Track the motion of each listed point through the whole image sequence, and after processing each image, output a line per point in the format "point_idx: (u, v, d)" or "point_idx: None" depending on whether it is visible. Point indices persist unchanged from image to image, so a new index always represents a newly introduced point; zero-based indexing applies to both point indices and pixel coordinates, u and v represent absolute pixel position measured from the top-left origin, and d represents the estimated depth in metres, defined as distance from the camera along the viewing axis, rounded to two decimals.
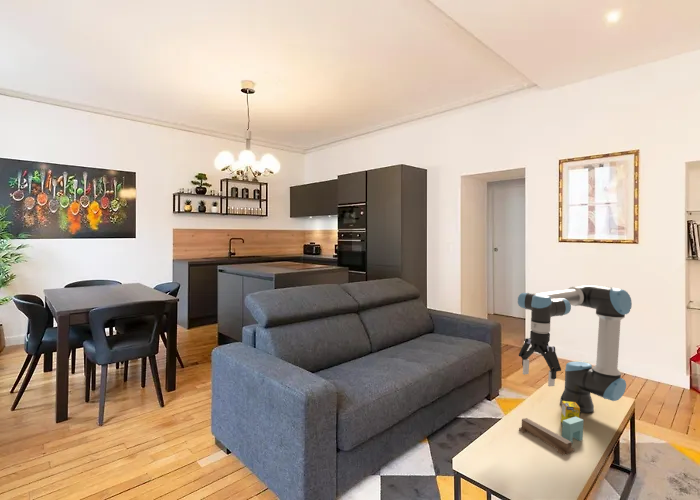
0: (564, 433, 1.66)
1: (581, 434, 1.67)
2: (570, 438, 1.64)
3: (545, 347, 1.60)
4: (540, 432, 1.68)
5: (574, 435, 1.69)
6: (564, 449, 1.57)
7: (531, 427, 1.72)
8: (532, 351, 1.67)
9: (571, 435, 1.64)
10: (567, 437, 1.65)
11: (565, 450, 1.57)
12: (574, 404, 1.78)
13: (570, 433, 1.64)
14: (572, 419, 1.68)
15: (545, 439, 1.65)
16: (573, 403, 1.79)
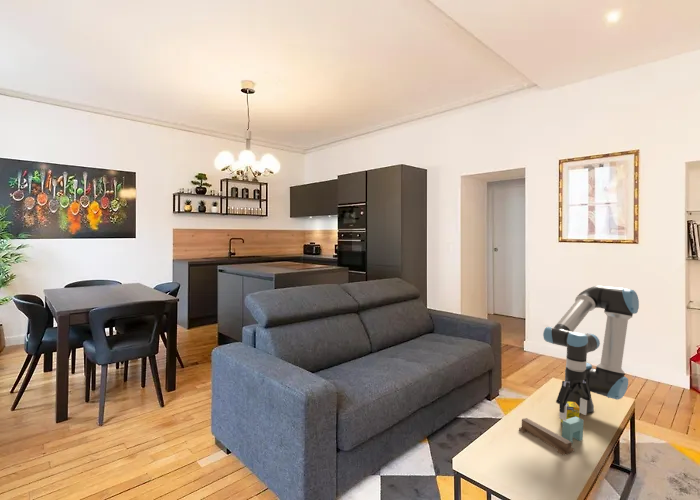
0: (564, 433, 1.66)
1: (581, 434, 1.67)
2: (570, 438, 1.64)
3: (567, 382, 1.65)
4: (540, 432, 1.68)
5: (574, 435, 1.69)
6: (564, 449, 1.57)
7: (531, 427, 1.72)
8: (579, 389, 1.68)
9: (571, 435, 1.64)
10: (567, 437, 1.65)
11: (565, 450, 1.57)
12: (574, 404, 1.78)
13: (570, 433, 1.64)
14: (572, 419, 1.68)
15: (545, 439, 1.65)
16: (573, 403, 1.79)
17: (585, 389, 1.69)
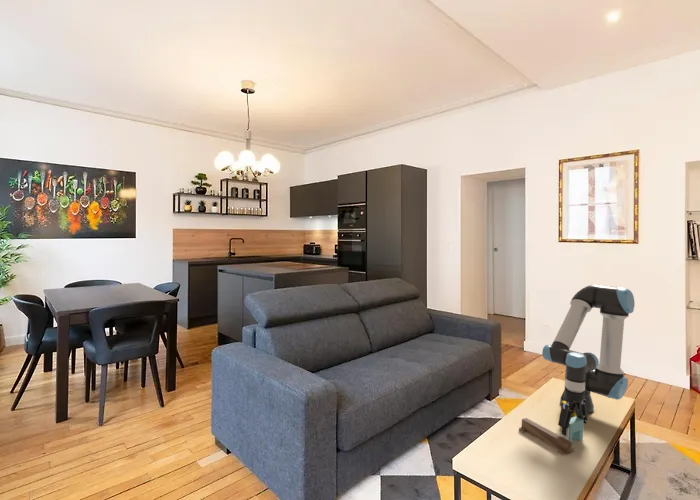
0: None
1: (581, 434, 1.67)
2: (570, 438, 1.64)
3: (566, 403, 1.66)
4: (540, 432, 1.68)
5: (574, 435, 1.69)
6: (564, 449, 1.57)
7: (531, 427, 1.72)
8: (576, 410, 1.68)
9: (571, 435, 1.64)
10: None
11: (565, 450, 1.57)
12: None
13: (570, 433, 1.64)
14: (572, 419, 1.68)
15: (545, 439, 1.65)
16: None
17: (582, 411, 1.69)
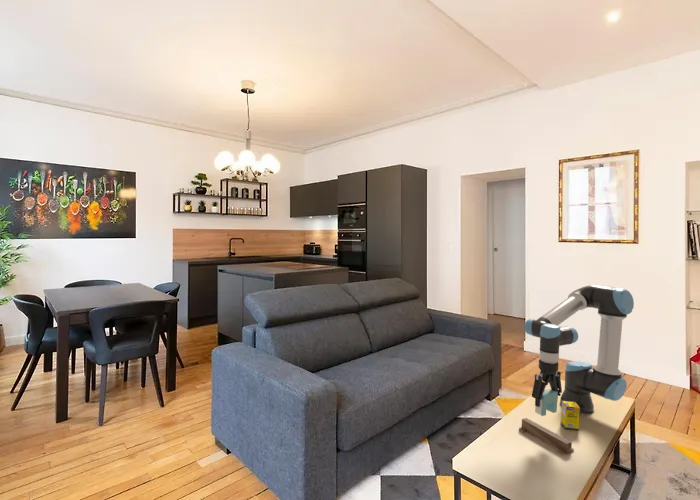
0: None
1: (555, 406, 1.66)
2: (543, 409, 1.63)
3: None
4: (540, 432, 1.68)
5: (548, 407, 1.68)
6: (564, 449, 1.57)
7: (531, 427, 1.72)
8: (551, 382, 1.67)
9: (544, 406, 1.63)
10: None
11: (565, 450, 1.57)
12: (574, 404, 1.78)
13: (543, 404, 1.63)
14: (546, 391, 1.67)
15: (545, 439, 1.65)
16: (573, 403, 1.79)
17: (557, 383, 1.68)
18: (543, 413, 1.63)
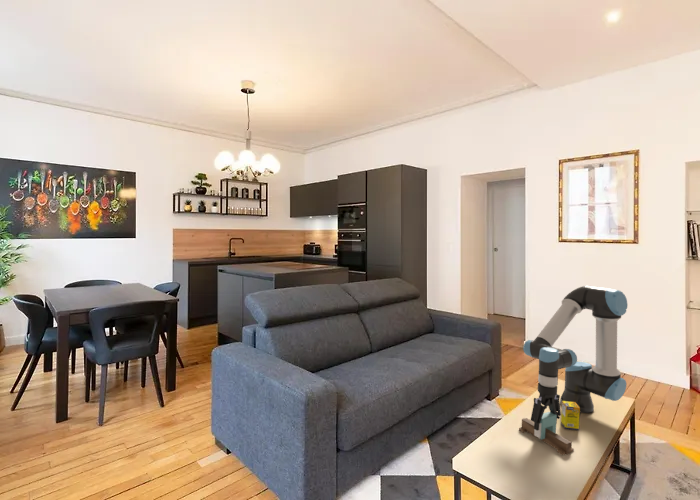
0: None
1: (554, 429, 1.67)
2: (542, 433, 1.64)
3: (539, 398, 1.65)
4: None
5: None
6: (564, 449, 1.57)
7: (531, 427, 1.72)
8: (550, 405, 1.68)
9: (543, 430, 1.64)
10: None
11: (565, 450, 1.57)
12: (574, 404, 1.78)
13: (542, 428, 1.64)
14: (545, 414, 1.67)
15: (545, 439, 1.65)
16: (573, 403, 1.79)
17: (556, 406, 1.69)
18: (542, 436, 1.64)
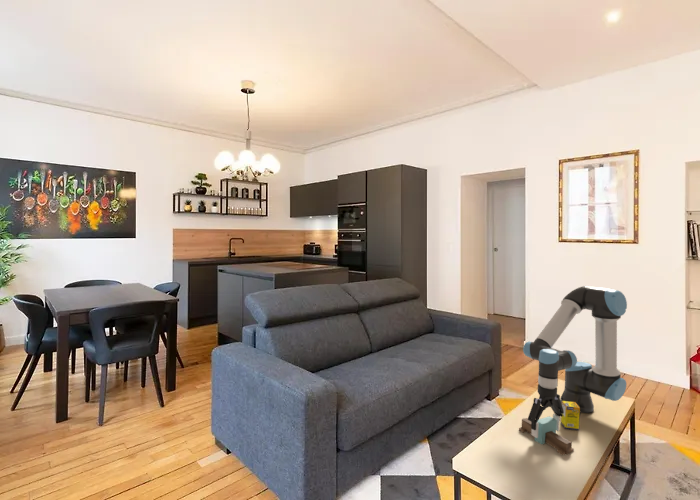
0: None
1: None
2: (542, 438, 1.64)
3: (538, 399, 1.65)
4: None
5: None
6: (564, 449, 1.57)
7: None
8: (551, 406, 1.68)
9: (543, 435, 1.64)
10: (539, 437, 1.65)
11: (565, 450, 1.57)
12: (574, 404, 1.78)
13: (542, 433, 1.64)
14: (545, 419, 1.67)
15: (545, 439, 1.65)
16: (573, 403, 1.79)
17: (558, 405, 1.69)
18: (542, 441, 1.64)
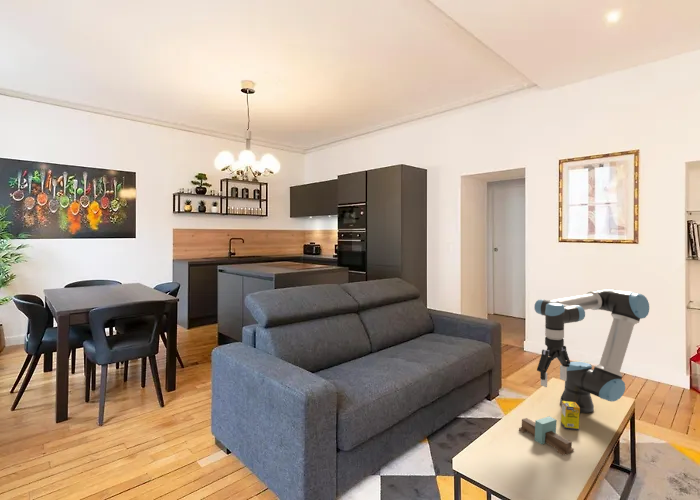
0: (537, 433, 1.66)
1: None
2: (542, 438, 1.64)
3: None
4: None
5: None
6: (564, 449, 1.57)
7: (531, 427, 1.72)
8: (558, 357, 1.75)
9: (543, 435, 1.64)
10: (539, 437, 1.65)
11: (565, 450, 1.57)
12: (574, 404, 1.78)
13: (542, 433, 1.64)
14: (545, 419, 1.67)
15: (545, 439, 1.65)
16: (573, 403, 1.79)
17: (564, 356, 1.77)
18: (542, 441, 1.64)
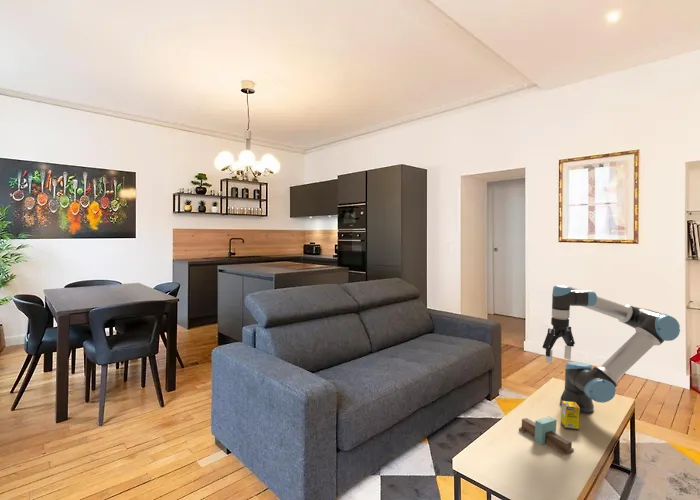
0: (537, 433, 1.66)
1: None
2: (542, 438, 1.64)
3: None
4: None
5: None
6: (564, 449, 1.57)
7: (531, 427, 1.72)
8: (563, 336, 1.86)
9: (543, 435, 1.64)
10: (539, 437, 1.65)
11: (565, 450, 1.57)
12: (574, 404, 1.78)
13: (542, 433, 1.64)
14: (545, 419, 1.67)
15: (545, 439, 1.65)
16: (573, 403, 1.79)
17: (569, 337, 1.87)
18: (542, 441, 1.64)
